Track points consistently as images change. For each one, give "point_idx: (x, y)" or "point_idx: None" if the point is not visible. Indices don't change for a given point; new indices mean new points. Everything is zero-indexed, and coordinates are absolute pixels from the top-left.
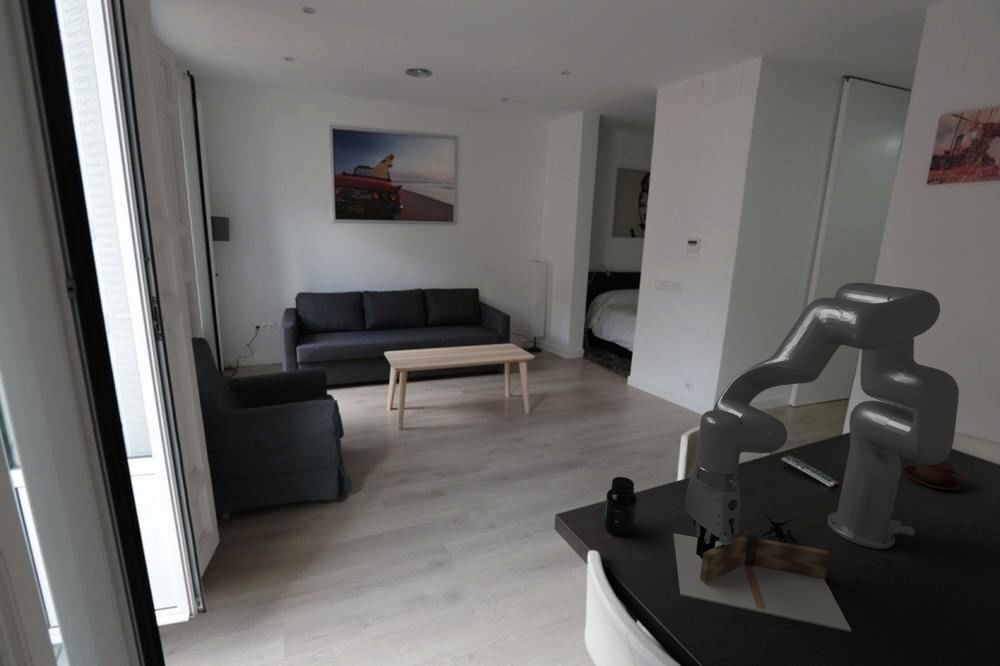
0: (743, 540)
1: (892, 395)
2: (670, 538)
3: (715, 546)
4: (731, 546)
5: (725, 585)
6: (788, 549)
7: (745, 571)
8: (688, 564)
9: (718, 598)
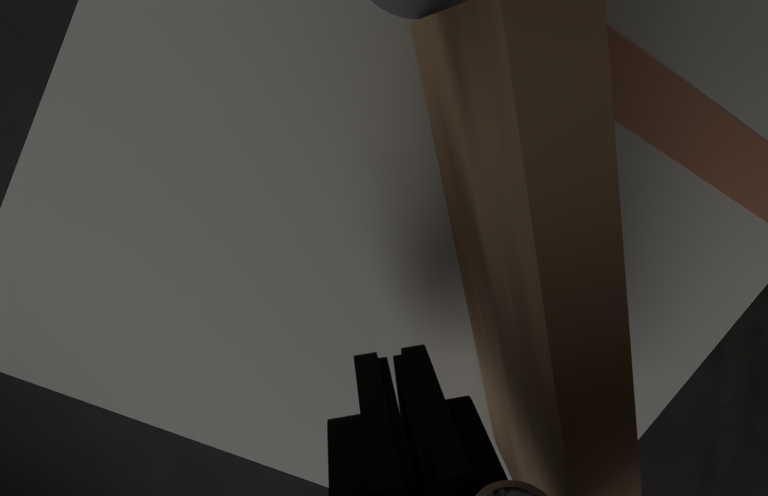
0: (604, 86)
1: None
2: (10, 386)
3: (162, 88)
4: (629, 346)
5: None
6: None
7: None
8: None
9: (640, 405)
